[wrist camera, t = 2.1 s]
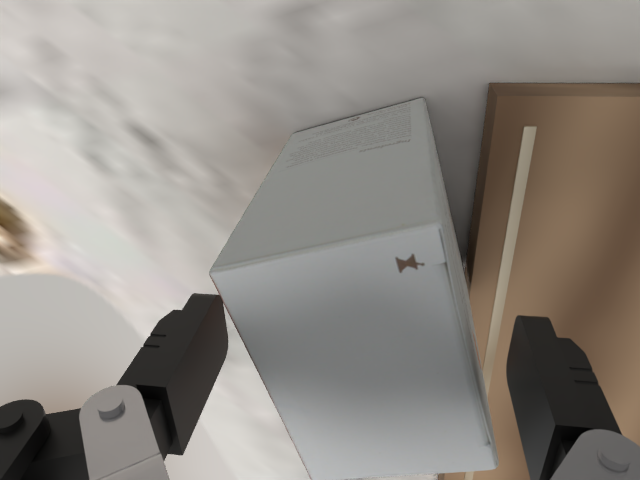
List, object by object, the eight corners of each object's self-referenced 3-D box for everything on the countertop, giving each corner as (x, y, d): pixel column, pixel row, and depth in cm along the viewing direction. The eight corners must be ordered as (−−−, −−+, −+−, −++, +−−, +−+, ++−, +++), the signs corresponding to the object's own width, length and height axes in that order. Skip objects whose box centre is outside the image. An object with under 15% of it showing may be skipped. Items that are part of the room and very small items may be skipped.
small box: (291, 130, 21) (198, 265, 12) (427, 92, 19) (442, 215, 10) (345, 288, 24) (306, 489, 15) (465, 267, 23) (501, 477, 13)
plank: (795, 83, 17) (841, 98, 15) (614, 514, 29) (628, 551, 27) (489, 83, 19) (498, 96, 17) (435, 492, 30) (437, 526, 28)
